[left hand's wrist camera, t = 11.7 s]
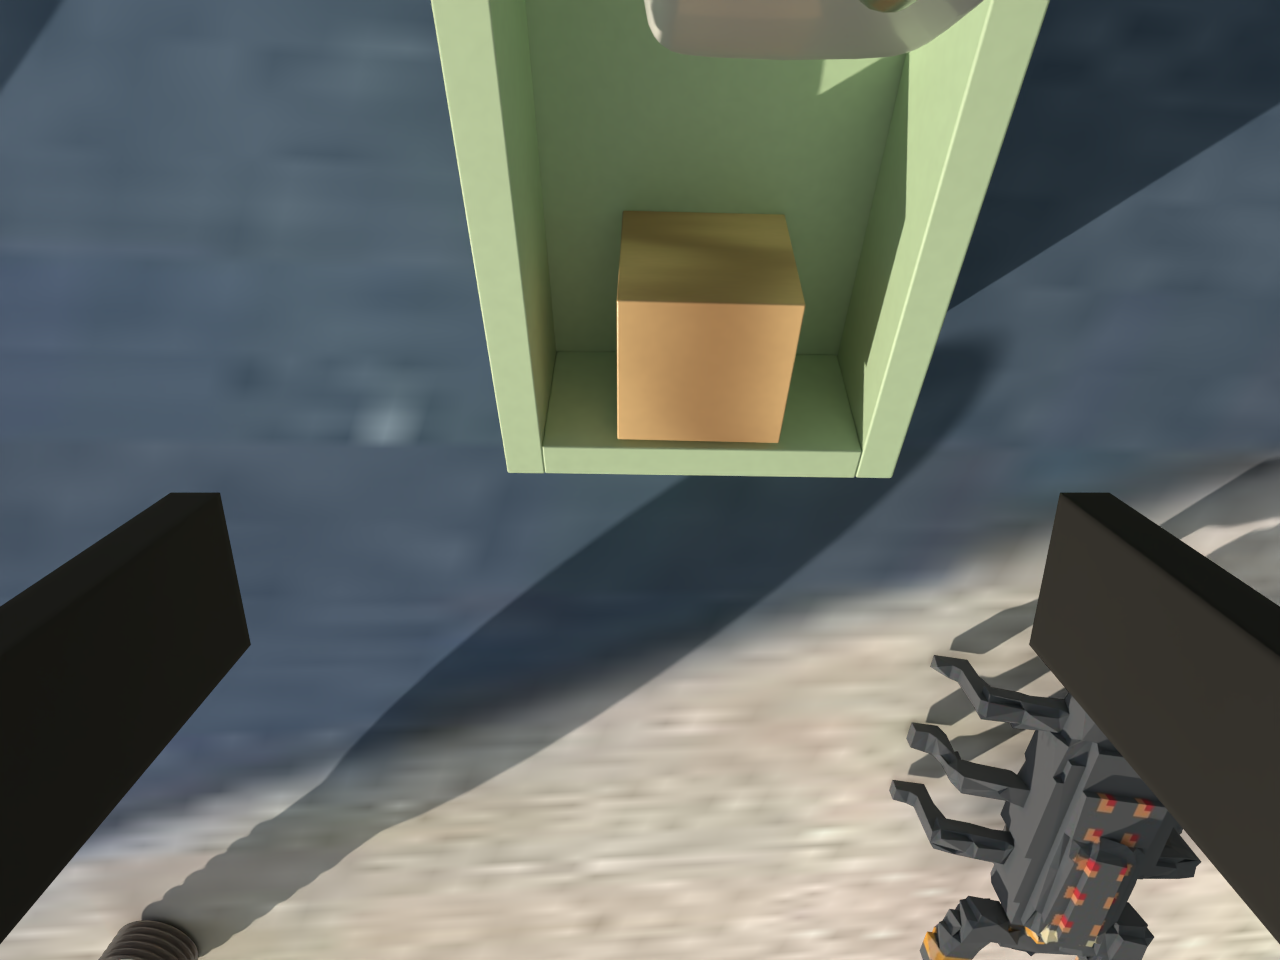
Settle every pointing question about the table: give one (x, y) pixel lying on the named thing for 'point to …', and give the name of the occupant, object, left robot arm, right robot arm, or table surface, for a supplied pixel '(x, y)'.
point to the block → (705, 326)
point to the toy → (1048, 833)
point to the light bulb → (150, 943)
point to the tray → (718, 183)
